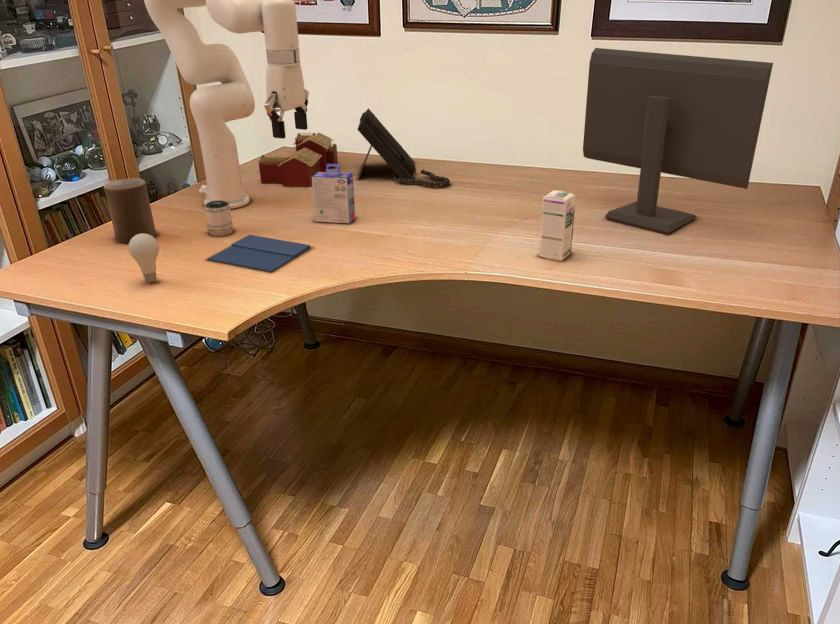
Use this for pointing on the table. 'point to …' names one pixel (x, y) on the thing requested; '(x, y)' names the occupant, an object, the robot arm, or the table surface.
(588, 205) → the table surface
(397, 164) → the office phone
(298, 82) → the robot arm
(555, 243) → the syrup box
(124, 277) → the table surface
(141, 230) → the pillar candle
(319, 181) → the ink cartridge box
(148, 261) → the lightbulb
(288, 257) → the cloth
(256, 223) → the table surface
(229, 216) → the camera lens
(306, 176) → the toy houses
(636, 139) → the computer monitor
